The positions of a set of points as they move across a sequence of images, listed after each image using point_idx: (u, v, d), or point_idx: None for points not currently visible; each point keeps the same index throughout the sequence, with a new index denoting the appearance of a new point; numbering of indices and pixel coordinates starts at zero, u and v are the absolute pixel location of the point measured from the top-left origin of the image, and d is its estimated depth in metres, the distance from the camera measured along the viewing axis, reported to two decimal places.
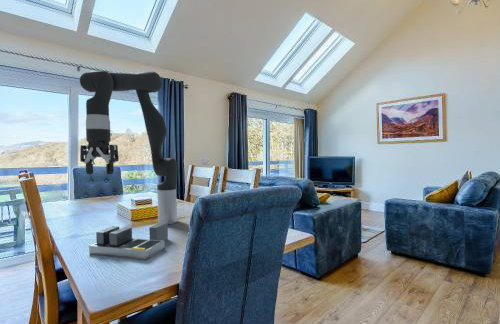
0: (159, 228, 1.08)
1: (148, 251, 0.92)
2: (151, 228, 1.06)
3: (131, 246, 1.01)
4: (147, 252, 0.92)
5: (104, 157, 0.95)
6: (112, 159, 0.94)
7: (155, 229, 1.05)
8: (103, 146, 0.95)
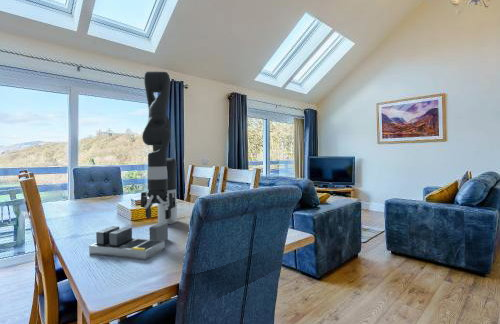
0: (159, 228, 1.08)
1: (148, 251, 0.92)
2: (151, 228, 1.06)
3: (131, 246, 1.01)
4: (147, 252, 0.92)
5: (163, 204, 1.07)
6: (171, 206, 1.06)
7: (155, 229, 1.05)
8: (162, 194, 1.07)
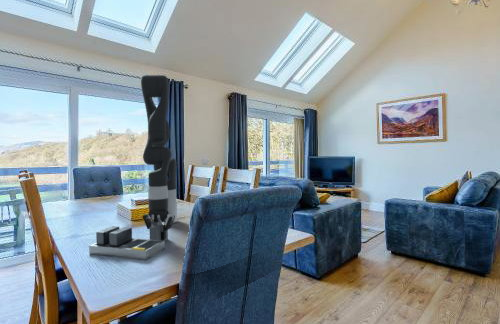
0: (160, 228, 1.08)
1: (148, 251, 0.92)
2: (151, 228, 1.06)
3: (131, 246, 1.01)
4: (147, 252, 0.92)
5: (161, 225, 1.08)
6: (166, 228, 1.07)
7: (155, 229, 1.05)
8: (163, 214, 1.07)
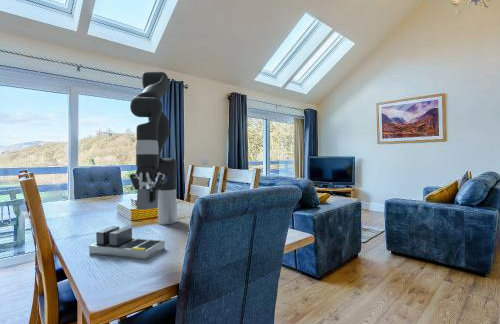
0: (149, 191, 0.96)
1: (148, 251, 0.92)
2: (139, 189, 0.94)
3: (131, 246, 1.01)
4: (147, 252, 0.92)
5: (150, 184, 0.95)
6: (156, 187, 0.95)
7: (144, 190, 0.94)
8: (153, 171, 0.95)
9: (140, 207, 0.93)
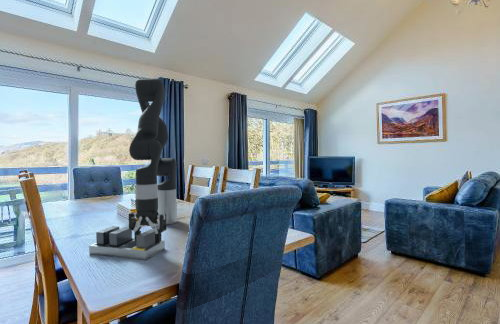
0: (148, 237, 0.95)
1: (148, 251, 0.92)
2: (138, 236, 0.93)
3: (131, 246, 1.01)
4: (147, 252, 0.92)
5: (153, 227, 0.95)
6: (161, 230, 0.94)
7: (143, 238, 0.93)
8: (152, 215, 0.95)
9: None
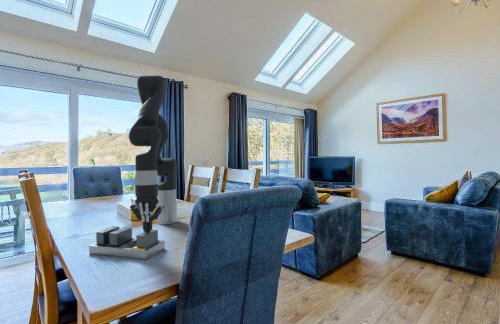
0: (148, 237, 0.95)
1: (148, 251, 0.92)
2: (138, 236, 0.93)
3: (131, 246, 1.01)
4: (147, 252, 0.92)
5: (147, 215, 0.95)
6: (152, 218, 0.95)
7: (143, 238, 0.93)
8: (152, 202, 0.95)
9: None
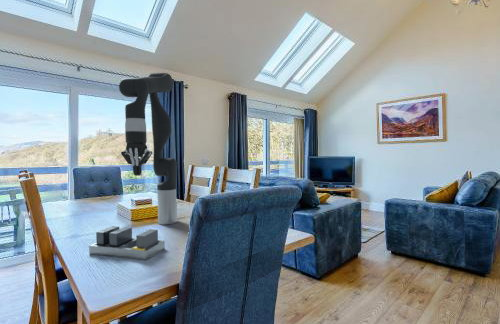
0: (148, 237, 0.95)
1: (148, 251, 0.92)
2: (138, 236, 0.93)
3: (131, 246, 1.01)
4: (147, 252, 0.92)
5: (136, 159, 1.05)
6: (141, 162, 1.05)
7: (143, 238, 0.93)
8: (141, 147, 1.04)
9: None
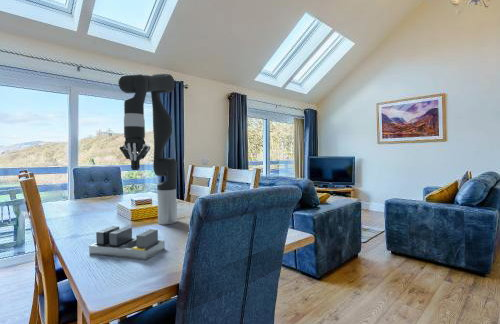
0: (148, 237, 0.95)
1: (148, 251, 0.92)
2: (138, 236, 0.93)
3: (131, 246, 1.01)
4: (147, 252, 0.92)
5: (134, 154, 1.06)
6: (139, 156, 1.06)
7: (143, 238, 0.93)
8: (139, 142, 1.06)
9: None
